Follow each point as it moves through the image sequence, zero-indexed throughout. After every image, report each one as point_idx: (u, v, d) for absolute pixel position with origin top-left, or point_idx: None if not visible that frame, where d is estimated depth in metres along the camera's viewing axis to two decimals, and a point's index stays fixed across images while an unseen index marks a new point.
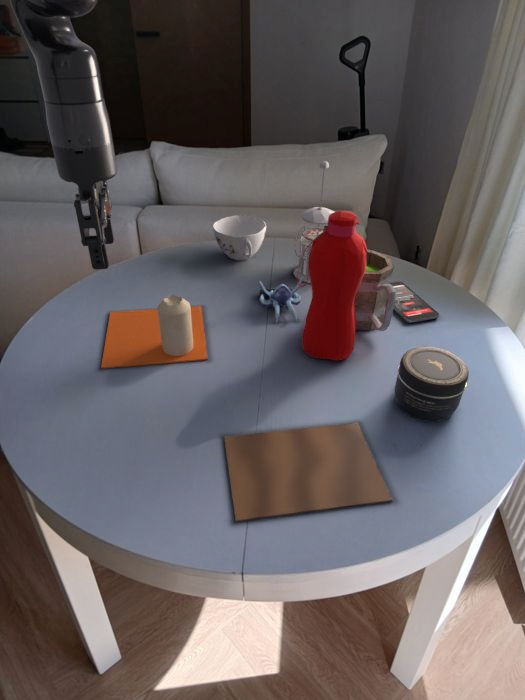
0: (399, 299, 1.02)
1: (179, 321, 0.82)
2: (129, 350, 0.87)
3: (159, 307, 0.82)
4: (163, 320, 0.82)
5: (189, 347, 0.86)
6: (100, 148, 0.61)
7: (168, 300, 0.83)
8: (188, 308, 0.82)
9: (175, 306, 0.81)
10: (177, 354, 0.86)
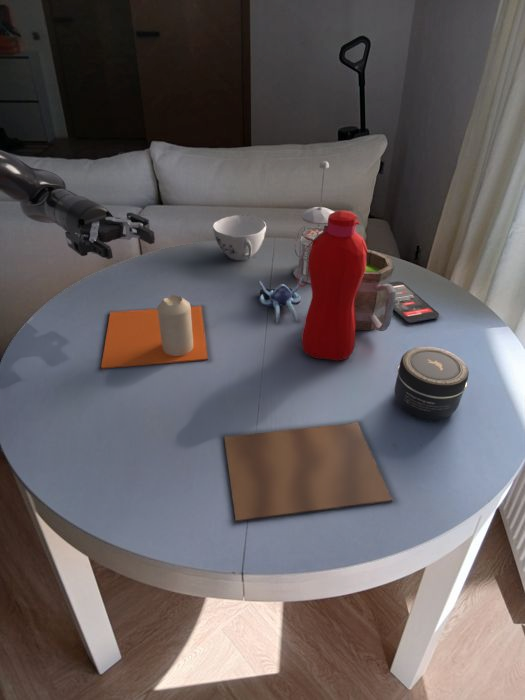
0: (399, 299, 1.02)
1: (179, 321, 0.82)
2: (129, 350, 0.87)
3: (159, 307, 0.82)
4: (163, 320, 0.82)
5: (189, 347, 0.86)
6: None
7: (168, 300, 0.83)
8: (188, 308, 0.82)
9: (175, 306, 0.81)
10: (177, 354, 0.86)
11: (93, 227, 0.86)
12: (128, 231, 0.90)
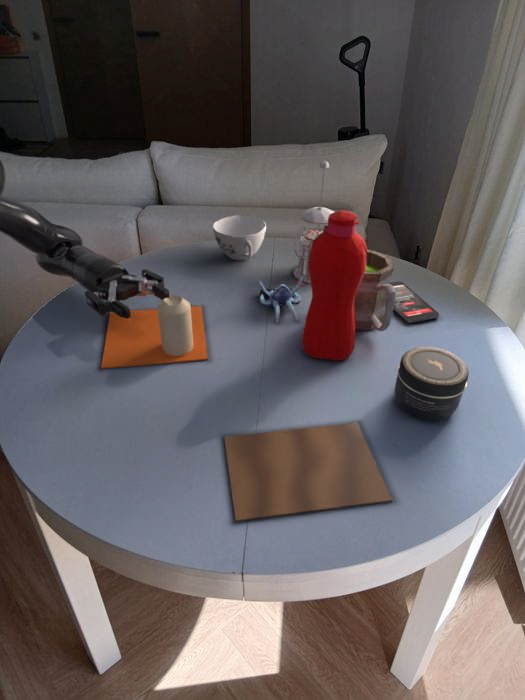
0: (399, 299, 1.02)
1: (179, 321, 0.82)
2: (129, 350, 0.87)
3: (159, 307, 0.82)
4: (163, 320, 0.82)
5: (189, 347, 0.86)
6: None
7: (168, 300, 0.83)
8: (188, 308, 0.82)
9: (175, 306, 0.81)
10: (177, 354, 0.86)
11: (111, 287, 0.91)
12: (144, 289, 0.94)
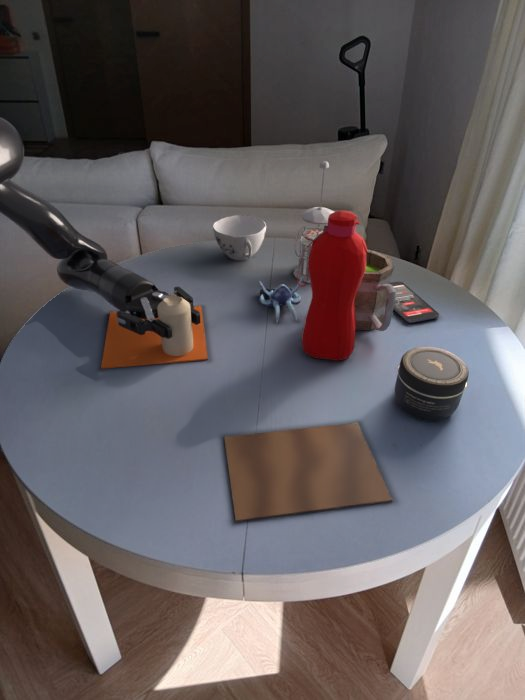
0: (399, 299, 1.02)
1: (179, 321, 0.82)
2: (129, 350, 0.87)
3: (159, 307, 0.82)
4: (163, 320, 0.82)
5: (189, 347, 0.86)
6: None
7: (168, 300, 0.83)
8: (188, 308, 0.82)
9: (175, 306, 0.81)
10: (177, 354, 0.86)
11: (142, 305, 0.85)
12: None
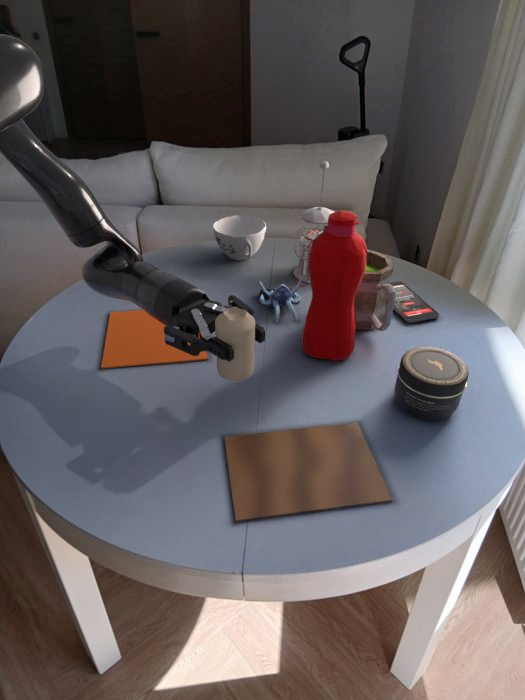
0: (399, 299, 1.02)
1: (243, 339, 0.66)
2: (129, 350, 0.87)
3: (218, 322, 0.66)
4: (223, 338, 0.66)
5: (251, 370, 0.71)
6: None
7: (228, 313, 0.67)
8: (253, 323, 0.67)
9: (238, 321, 0.66)
10: (237, 379, 0.70)
11: (194, 319, 0.70)
12: None
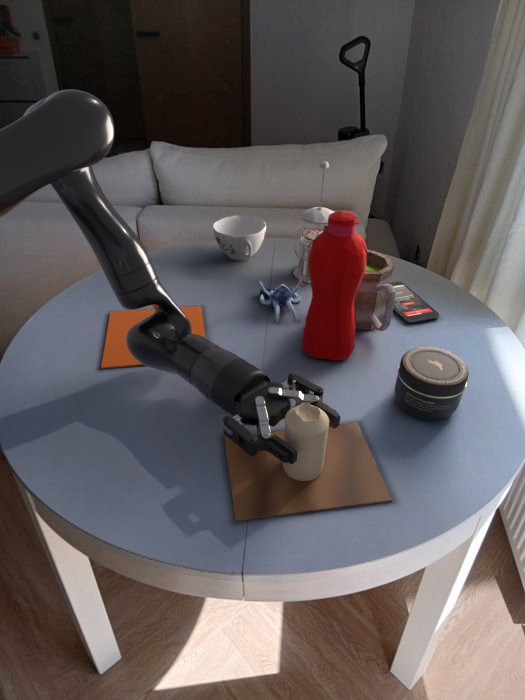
0: (399, 299, 1.02)
1: (317, 441, 0.60)
2: None
3: (289, 422, 0.60)
4: (295, 440, 0.60)
5: (321, 468, 0.65)
6: None
7: (299, 411, 0.61)
8: (328, 423, 0.61)
9: (313, 423, 0.60)
10: (306, 479, 0.64)
11: (259, 409, 0.63)
12: None
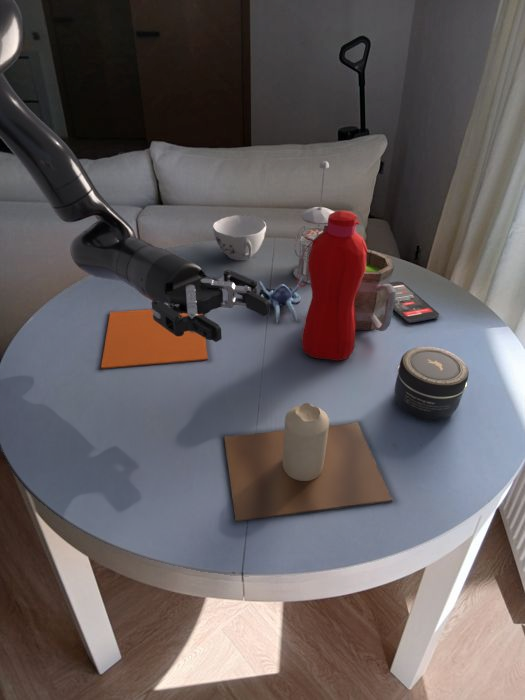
0: (399, 299, 1.02)
1: (317, 441, 0.60)
2: (129, 350, 0.87)
3: (289, 422, 0.60)
4: (295, 440, 0.60)
5: (321, 468, 0.65)
6: None
7: (299, 411, 0.61)
8: (328, 423, 0.61)
9: (313, 423, 0.60)
10: (306, 479, 0.64)
11: (189, 295, 0.63)
12: (231, 297, 0.67)
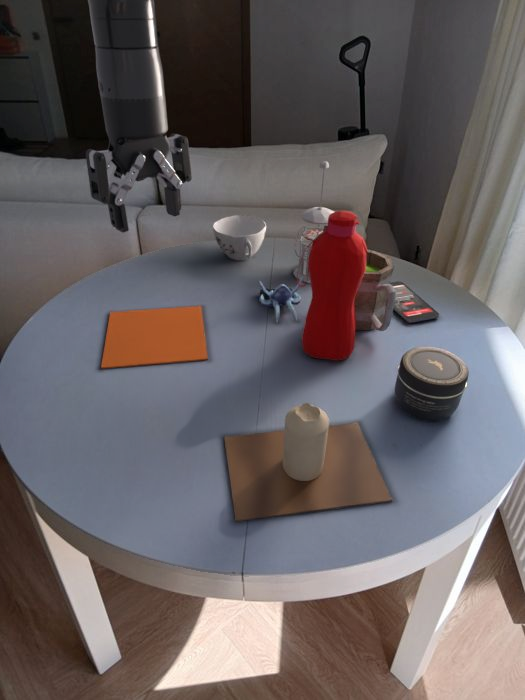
0: (399, 299, 1.02)
1: (317, 441, 0.60)
2: (129, 350, 0.87)
3: (289, 422, 0.60)
4: (295, 440, 0.60)
5: (321, 468, 0.65)
6: None
7: (299, 411, 0.61)
8: (328, 423, 0.61)
9: (313, 423, 0.60)
10: (306, 479, 0.64)
11: (132, 171, 0.61)
12: (161, 175, 0.66)
